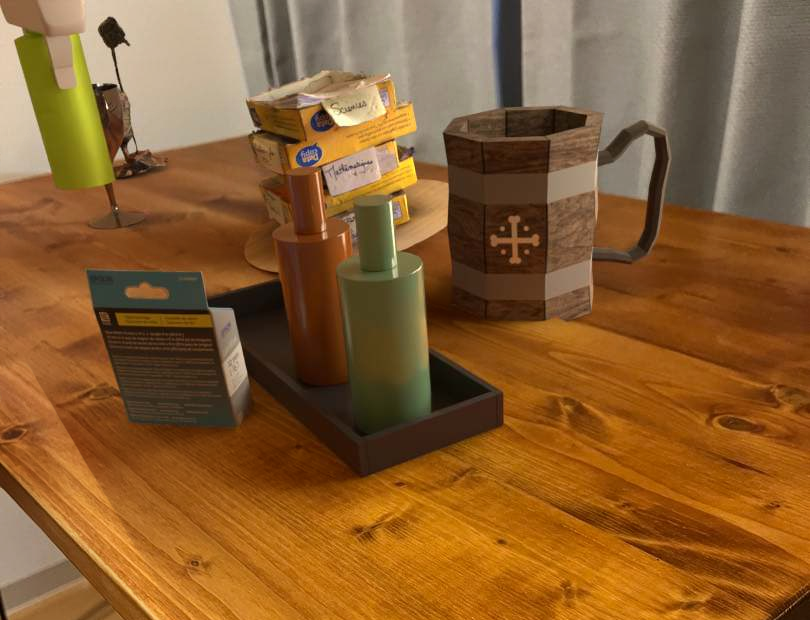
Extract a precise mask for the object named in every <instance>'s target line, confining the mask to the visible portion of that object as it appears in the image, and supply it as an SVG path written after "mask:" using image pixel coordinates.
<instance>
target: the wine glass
mask: <svg viewBox="0 0 810 620" xmlns="http://www.w3.org/2000/svg"><path fill="white" fill-rule="evenodd" d="M91 84H92V88H93V92H94V96H95V100H96V104H97V108H98V112H99V116H100V120H101V124H102V128H103V132H104V136H105V140H106V143H107V147H108V151H109V155H110V159H111V163H112V165H114V161H115V158H116V157H117V154H118V152H119V150H120V149H121V148H120V146H121V144H122V141H123V138H124V115H123V108H122V103H121V98H120V93H119V89H120V88H119V87H118V86H119V85H118V84H116V83H112V82H111V83H108V82H106V83H103V82H101V83H99V82H98V83H91ZM118 88H119V89H118ZM103 186H104V188H105V191H106V194H107V198H108V201H109V205H110V211H109V212H107V213H105V214H102V215H99V216H97V217H95V218H93V219H91V220H90V221H89V223H88V225H89V227H90V228H92V229H97V230H98V229H99V230H108V229H110V230H111V229H118V228H123V227H128V226H132V225H134V224H135V225H136V224H137V223H139V222H142V221H143V220H145V218H146V217H147V215H146V214H145V213H144V212H142V211H138V210H122V209H120V208H119V206H118V203H117V201H116V200H117V199H116V196H115V191H114V187H113V186H114V185H113V182H111V183H109V184H106V185H103Z"/></svg>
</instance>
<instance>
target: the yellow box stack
mask: <svg viewBox="0 0 810 620" xmlns="http://www.w3.org/2000/svg"><path fill="white" fill-rule="evenodd" d="M266 90H267V91H263V90H261V91H260V92H259V93H258V94H257V95H254V96H252V97H246V98H245V104H246V106H247V109H248V112H249V113H248V114H249V116H250V118H251V121H252V124H253V127H254V128H257V129H256V131H255V130H254V129H252V132H251V133H249V134H248V135H247V137H248V140H249V143H250V147H251V150H252V154H253V157H254V160H255V162H256V163H257V164H260V166H261V167H262V168H263V169H267V170H268V171H270V172H273V173H275V176H274V175H273V176H271V177H268V178H265V179H263V180H260V181H259V182H258V187H259V191H260V194H261V196H262V199H263V202H264V205H265V208H266V210H267V212H268V217H269V219H271V220H269V221H267V222H266V223H265V224H264V225H262V226H261V227H260V228H259V229H257V231H256V230H255V232H254V233H253V234H252V235H251V236H250V237H249V239H248V240H247V242H246V243H245V246H244V250H243V255H244V256H243V257H244V258H245V260H246V261H247V262H248V263H249V264H250V265H251V266H253V267H255V268H257V269H260V270H263V271H267V272H271V273H272V272H273V273H278V266H277V260H276V254H275V248H274V242H273V236H272V235H273V232H274V230H275V229H277V228H278V227H280V226H282V225H285V224H287V223H290V222H293V218H292V211H291V205H290V198H289V191H288V184H287V178H286V172H287V171H288V170H291V169H294V168H298V167H306V166H312V167H318V168H320V170H321V178H322V186H323V194H324V202H325V210H326V218H334V219H340V220H343V221H346V222H347V223H348V224H349V225H350V231H351V240H352V249H353V256H356V255H359V251H358V242H357V232H356V223H355V214H354V204H353V202H354V200H356V199H358V198H360V197H364V196H369V195H386V196H390V197H392V199H393V211H394V223H395V236H396V248H397V251H401V252H402V251H403V250H407V249H409V248H411V247H413V246H414V245H416V244H418V243H421V242H423V241H425V240H427V239H428V238H431V236H434V235H435V234H436V233H439V232H440V231H441V230H443V229H444V228H446V227H447V222H448V199H449V186H448V182H445V181H442V180H441V181H440V180H435V179H427V178H425V179H423V178H417V177H418V176H417V173H416V169H415V164H414V158H413V156H414V154H415V153H416V151H417V148H416V147H414V146H410V148H409V147H408V148H407V147H406V146H403V145H400V144H398V143H397V142H396V139H397V138H401V137H404V136H406V135H410V134H413V133H414V132H416V131H417V127H418V126H417V123H416V122H417V121H416V118H415V112H414V107H413V103H412V101H408V100H405V99H401V100H399V99H398V98H397V97H396V92H395V91H396V90H395V85H394V81H393V79H392V78H391V74H390V73H379V74H373V75H372V74H369V75H368V74H365V73H364V71H362V70H360V74H359V73H356V74H355V73H354V72H351V71H343V72H342V71H341V70H340V69H339V68H337V69H336V70H333V69H332V70H321V71H320V72H318V73H316V74H315V75H313V76H311V77H308V76H307V77H304V76H303V77H301V78H300V79H298V80H295V81H290V82H287V83H285V84H282V85H280V86H273V87H272V86H271V85H270V84H268V88H267V89H266Z"/></svg>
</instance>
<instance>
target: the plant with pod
mask: <svg viewBox="0 0 810 620" xmlns="http://www.w3.org/2000/svg"><path fill="white" fill-rule="evenodd" d="M97 32H98V34H99V36H100V37H101V39H102V41H103V43H104V45H105V46H106V47H107V48H108V49H110V53H111V57H112V61H113V64H114V65H113V66H114V67H115V68H114V70H115V75H116V80H117V82H118V83H117V84H118V86H119V87H118V89H119V93H120V98H121V103H122V108H123V115H124V138H123V141H122V144H121V146H120V148H119V149H121V153H122V154H123V157H124V161H125V163H123V164H121V165H114V166H112V167H113V171H114V175H115V178H123V177H127V176H131V177H132V176H133V175H134V176H135V175H137V174H140V173H143V172H144V173H145V172H147V171H148V170H150V169H152V168H156V167H168V165H169V163H168V159H169V157H166V158H162V157H157V156H155V155H152V151H151V150H150V149H149V148H148V149H144V150H139V149H138V146H137V141H136V138H135V134H134V133H135V132H134V128H133V127H132V120H131V119H132V117H131V102H130V101H129V100H130V99H129V97H128V95H127V93H126V92H125V90H124V87H123V85H122V81H121V77H120V73H119V68H118V61H117V55H116V48H118V46H119V45H122V44H125V45H126V46H127V47H131V43H130V42H129V41H128V39H127V38H126V33H125V31H124V29H123V28H122V26H121V25H120V24H119V23H118V21H117V19H116V18H115V17H113V16H111V15H110V16H107V17H106V18H105V19H104V20H103V21H102V22H100V24H99V25H98V27H97ZM131 140H133V143H134V145H135V151H134V152H130V151H129V149H128V146H129V142H131Z"/></svg>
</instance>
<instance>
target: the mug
mask: <svg viewBox="0 0 810 620" xmlns="http://www.w3.org/2000/svg"><path fill="white" fill-rule="evenodd" d="M604 115H605V113H604V112H601V111H595V110H590V109H584V108H578V107H572V106H567V105H561V104H560V105H544V106H543V105H542V106H541V105H538V106H513V107H499V108H495V109H490V110H484V111H481V112H476V113H471V114H468V115H462V116H458V117H453V118H452V119H451V121H450V122H449V123H448V125H447V126H446V127H445V128H444V130H443V131H442V138H443V143H444V150H445V157H446V163H447V183H448V186H449V199H448V222H447V226H446V228H447V236H448V244H449V245H448V246H449V252H450V258H451V259H450V263H451V264H450V265H451V295H450V304H451V305H453V306H455V307H457V308H459V309H462V310H464V311H466V312H468V313H470V314H471V315H474V316H476V317H478V318H480V319H482V320H484V321H532V322H533V321H535V322H536V321H537V322H538V321H539V322H541V321H543V322H545V321H549V320H551V319H554V318H557V319H559V320H561V321H564V322H566V323H567V322H570V321H572V320H575V319H578V318H581V317H584V316H586V315H589V314H591V313H592V310H593V309H592V307H593V300H594V299H593V298H594V277H593V275H594V274H593V262H601V263H616V264H624V265H630V266H631V265H633V264H635V263H636V262H639V261H641V260H642V259H644V258H646V257H648V256H649V255H650V252H651V251H652V249H653V247H654V245H655V243H656V241H657V239H658V237H659V234H660V229H661V224H662V218H663V212H664V201H665V193H666V187H667V181H668V178H669V177H668V176H669V173H670V172H669V171H670V166H671V162H672V159H673V156H672V151H671V146H670V142H669V136H668V130H666V128H665V127H664V126H661V125H658V124H655V123H653V122H650V121H647V120H645V119H640V120H638V121H636V122H634V123H632V124H630V125H628V126H626V127H625V128H622V129H621V130H620V131H619V133H618V134H617V135H616V136H615V137H614V138H613V140H612V141H611V142H610V143H609V144H608V145H607V146H606V147H605V148H604V149H602V150H599V146H600V141H601V140H600V139H601V133H602V127H603V121H604ZM645 135H646V136H647V135H648V136H650V137H653V145H654V152H655V153H654V154H655V158H654V163H653V167H652V171H651V176H650V180H649V185H648V191H647V194H648V195H647V201H646V202H647V203H646V211H645V220H644V228H643V230H642V233H641V235H640V237H639V240H638V242H637V244H636V245H634V246H632V247H630V248H628V249H626V250H620V249H617V248H612V247H599V246H598V247H597V246H594V240H595V234H596V227H597V219H598V212H599V195H598V193H599V191H598V190H599V189H598V168H599V167H602V166H607V165H610V164H614V163H615V162H616V161H617V160H618V159H620V157H622V155H624V154H625V152H626V151H627V150H628V148H629V147H630V146H631V145H632V143H633V142H634V141H636V140H638V139H640V138H641V137H643V136H645Z"/></svg>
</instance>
